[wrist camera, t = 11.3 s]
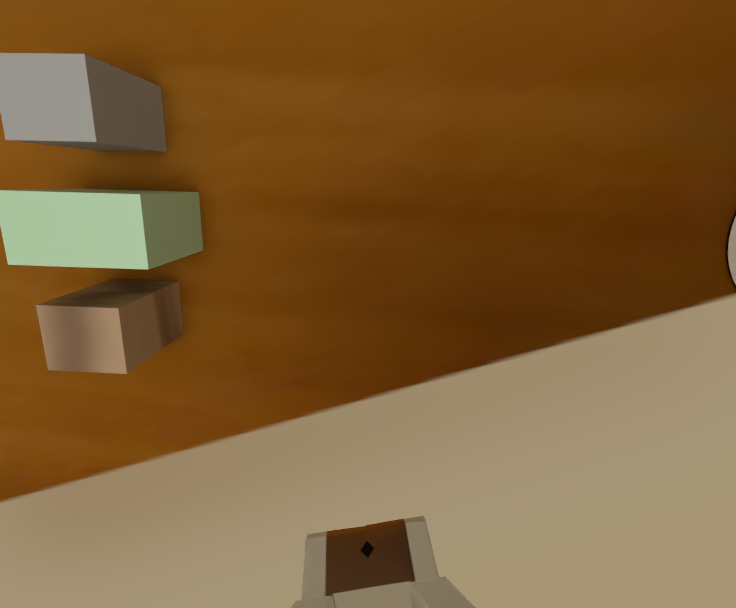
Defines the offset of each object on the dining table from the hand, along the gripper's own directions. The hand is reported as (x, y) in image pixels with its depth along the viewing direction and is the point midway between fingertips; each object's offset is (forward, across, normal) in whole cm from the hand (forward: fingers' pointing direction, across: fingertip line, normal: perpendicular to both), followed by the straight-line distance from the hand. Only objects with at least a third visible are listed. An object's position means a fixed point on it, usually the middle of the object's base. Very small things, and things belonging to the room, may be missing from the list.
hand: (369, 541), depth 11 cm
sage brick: (+31, +17, -4) cm, 36 cm away
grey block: (+32, +16, -12) cm, 38 cm away
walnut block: (+30, +19, +3) cm, 36 cm away
